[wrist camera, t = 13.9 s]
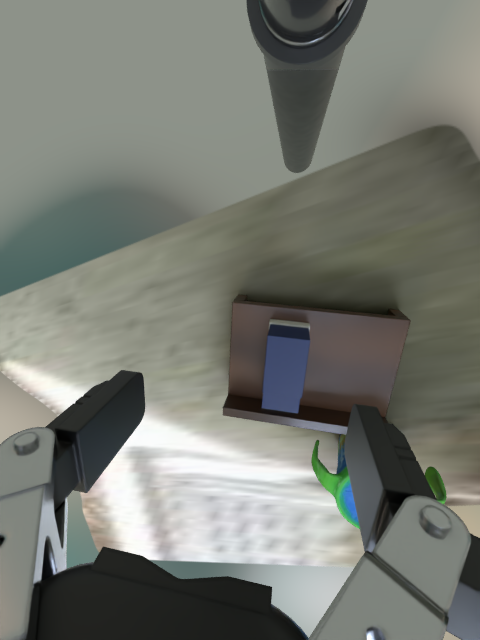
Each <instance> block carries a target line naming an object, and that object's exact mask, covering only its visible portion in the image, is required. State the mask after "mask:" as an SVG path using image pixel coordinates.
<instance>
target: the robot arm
mask: <svg viewBox="0 0 480 640" xmlns="http://www.w3.org/2000/svg"><path fill="white" fill-rule="evenodd" d="M353 1H354V0H259V6H260V11H261V15H262V19H263V21H264V24H265V26H266V28H267V29H268V31H269V32H270V34H271V35H272V36H273V37H274V38H275V39H276V40H277V41H278V42H280V43H281V44H283V45H285V46H287V47H290V48H295V49H305V48H310V47H313V46H316V45H318V44H320V43H322V42H324V41H325V40H327V39H328V38H329V37H330V36H332V35H333V34H334V33H335V32H336V31H337V30H338V28H339V27H340V26H341V25H342V23H343V22H344V20H345V18H346V17H347V15H348V13H349V11H350V9H351V6H352V4H353ZM144 412H145V395H144V379H143V375H142V373H139V372H132V371H125V370H121V371H120V372H119V373H117V374H116V375H115V376H114V377H113V378H112V379H111V380H109V381H105V382H103V383H101V384H98V385H96V386H94V387H93V388H91V389H90V390H89V391H88V392H87V393H85V394H84V396H83V397H81V398H80V399H78V400H77V401H76V403H75V404H72V405H71V406H70V407H69V408H68V409H66V410H65V411H64V412H63V413H62V414H60V415H59V416H58V417H57V418H56V419H55V420H53V421H52V422H51V423H50V424H49V425H47V426H46V427H45V428H44V427H36V428H30V429H26V430H23V431H20V432H18V433H16V434H14V435H12V436H10V437H9V438H7V439H6V440H5V441H3V442H2V444H0V640H443V638H444V634H445V631H447V632H449V633H451V634H453V635H454V636H456V637H458V638H459V639H461V640H480V538H478V537H476V536H474V535H472V534H470V533H469V531H468V529H467V527H466V525H465V524H464V522H463V521H462V520H461V519H460V517H459V516H457V514H456V513H454V512H453V511H452V510H451V509H450V508H448V507H447V506H445V505H444V504H442V503H441V502H439V501H437V499H436V497H435V495H434V493H433V491H432V489H431V487H430V485H429V483H428V481H427V479H426V477H425V475H424V473H423V471H422V469H421V467H420V465H419V463H418V461H416V457H415V455H414V453H413V451H412V450H411V448H410V446H409V444H408V442H407V440H406V438H405V436H404V435H403V434H402V433H401V432H400V431H399V430H398V429H397V428H396V427H395V426H394V425H393V424H389V423H384V421H383V419H382V417H381V415H380V412H379V410H378V408H377V407H373V406H366V405H359V404H354V405H353V406H352V410H351V414H350V419H349V424H348V428H347V433H346V438H345V448H344V450H345V460H346V464H347V469H348V474H349V479H350V483H351V488H352V493H353V498H354V502H355V507H356V512H357V517H358V521H359V526H360V531H361V536H362V540H363V545H364V550H365V553H364V555H363V556H362V557H361V559H360V560H359V562H358V563H357V565H356V566H355V568H354V570H353V571H352V573H351V574H350V576H349V577H348V579H347V580H346V582H345V583H344V585H343V586H342V588H341V590H340V591H339V593H338V594H337V596H336V597H335V599H334V600H333V602H332V603H331V605H330V606H329V608H328V609H327V611H326V613H325V614H324V616H323V617H322V619H321V620H320V622H319V623H318V625H317V626H316V628H315V630H314V631H313V633H312V634H311V636H310V637H309V638H308V637H307V635H306V634H305V633H304V632H303V630H302V629H301V628H300V627H299V626H298V625H297V624H296V623H295V622H294V621H293V620H292V619H291V618H290V617H289V616H287V615H286V614H285V613H283V612H282V611H281V610H280V609H278V608H277V607H275V606H273V605H272V604H271V596H272V587H270V586H266V585H262V584H258V583H253V582H249V581H245V580H241V579H237V578H232V577H228V576H227V577H211V578H198V579H178V578H176V577H175V576H173V575H172V574H170V573H168V572H167V571H165V570H163V569H162V568H160V567H159V566H157V565H156V564H154V563H152V562H151V561H149V560H148V559H146V558H145V557H143V556H140V555H136V554H132V553H128V552H124V551H119V550H115V549H111V548H107V547H103V548H102V550H101V551H100V553H99V555H98V556H97V558H96V560H95V562H91V563H86V564H80V565H77V566H74V567H71V568H68V569H67V567H66V543H67V511H68V503H67V497H68V495H69V494H70V493H71V492H72V490H75V491H79V492H84V493H87V492H88V491H89V490H90V488H91V487H92V486H93V484H94V483H95V482H96V480H97V479H98V478H99V476H100V475H101V474H102V473H103V471H104V470H105V469H106V467H107V466H108V465H109V463H110V462H111V461H112V459H113V458H114V457H115V455H116V454H117V453H118V451H119V450H120V449H121V447H122V446H123V445H124V443H125V442H126V441H127V439H128V438H129V437H130V436H131V434H132V433H133V432H134V430H135V429H136V428H137V426H138V425H139V424H140V422H141V420H142V418H143V416H144Z"/></svg>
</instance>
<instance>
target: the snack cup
mask: <svg viewBox="0 0 480 640" xmlns="http://www.w3.org/2000/svg"><path fill="white" fill-rule="evenodd" d="M345 438H346V435H344V434H341V435H340V437H339V443H338V467H337V473H336V474H332V473H329V471H328V470H327V469H326V468H325V466H324V465H323V464H322V463H321V462H320V460H319V459H318V445H319V441H318V440H317V441H316V443H315V446H314V450H313V454H312V466H313V470H314V472H315V474H316V476H317V478H318V480H319V481H320V483H321V484H322V485H323V486H324V487H325V488H326V490H328V491H329V492H330V493H331V494H332V495H333V496H334V497H335V499H336V503H337V507H338V509H339V511H340V513H341V514H342V516H343V517H344V518H345V519H346V520H347V521H348V522H350V523H351V524H352V525H354V526H355V527H357V528H359V529H360V526H359V521H358V517H357V512H356V507H355V502H354V498H353V493H352V488H351V483H350V479H349V474H348V469H347V464H346V460H345V450H344V448H345ZM425 477H426V479H427V481H428V483H429V485H430V487H431V489H432V491H433V493H434V494H435V495H436V499H437V501H439V502H441V503H442V504H444V503H445V501H446V490H445V487H444V483H443V481H442V478H441V476H440V474H439V473H438V471H437V470H436V469H435V468H434V467H428V468H427V469H426V472H425Z"/></svg>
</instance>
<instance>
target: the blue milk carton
mask: <svg viewBox="0 0 480 640" xmlns="http://www.w3.org/2000/svg"><path fill="white" fill-rule="evenodd" d="M309 330H310V324H309V323H303V322H294V321H284V320H275V319H270V322H269V331H268V336H267V346H266V357H265V368H264V379H263V390H262V393H263V397H262V408H265V409H272V410H278V411H285V412H292V413H298V411H299V404H300V398H302V395H303V388H304V381H305V374H306V367H307V360H308V353H309V346H310V334H309Z"/></svg>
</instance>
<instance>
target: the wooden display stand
mask: <svg viewBox="0 0 480 640" xmlns="http://www.w3.org/2000/svg"><path fill="white" fill-rule="evenodd" d="M270 319H275V320H284V321H294V322H303V323H309V324H310V330H309V334H310V346H309V353H308V360H307V367H306V374H305V381H304V388H303V395H302V398H300V404H299V411H298V413H292V412H285V411H278V410H272V409H265V408H262V397H263V393H262V390H263V379H264V368H265V357H266V346H267V336H268V331H269V322H270ZM409 325H410V320H409V319H408V318H407V317H406V316H405V315H404V314H403V313H402V312H401V311H399V310H394V309H389V310H388V315H380V314H370V313H360V312H350V311H340V310H330V309H320V308H310V307H300V306H290V305H280V304H270V303H260V302H250V301H247V295H238V296H237V297H236V298H235V300H234V301H233V303H232V325H231V346H230V367H229V388H228V396H227V399H226V401H225V404H224V407H223V415H224V416H230V417H236V418H243V419H249V420H255V421H262V422H268V423H274V424H281V425H287V426H293V427H300V428H306V429H312V430H319V431H325V432H331V433H338V434H344V435H346V433H347V428H348V424H349V419H350V414H351V410H352V406H353V405H354V404H359V405H366V406H373V407H377V408H378V410H379V412H380V415H381V417H382V419H383V421H384V423H388V422H387V420H386V418H385V416H386V413H387V409H388V405H389V401H390V397H391V393H392V390H393V386H394V382H395V378H396V374H397V371H398V367H399V363H400V359H401V355H402V351H403V348H404V344H405V340H406V336H407V332H408V328H409Z"/></svg>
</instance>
